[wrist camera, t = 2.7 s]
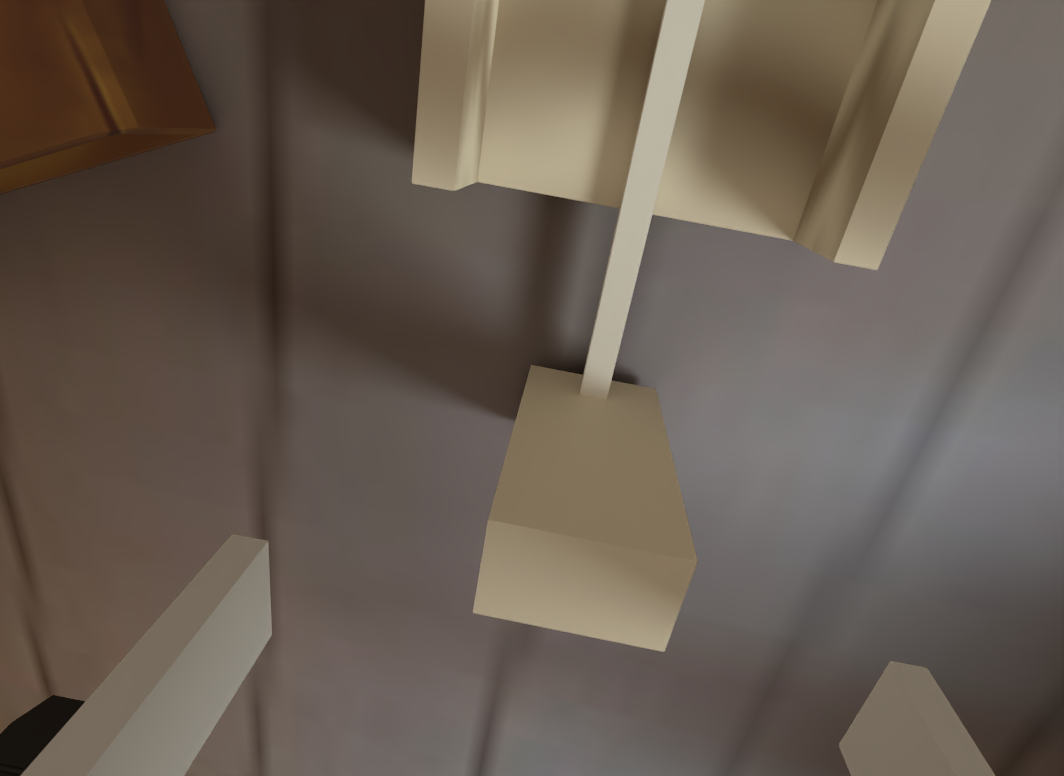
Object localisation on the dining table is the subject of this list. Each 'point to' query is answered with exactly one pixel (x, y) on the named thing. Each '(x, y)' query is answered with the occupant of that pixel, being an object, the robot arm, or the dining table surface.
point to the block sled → (600, 442)
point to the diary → (90, 86)
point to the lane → (699, 107)
